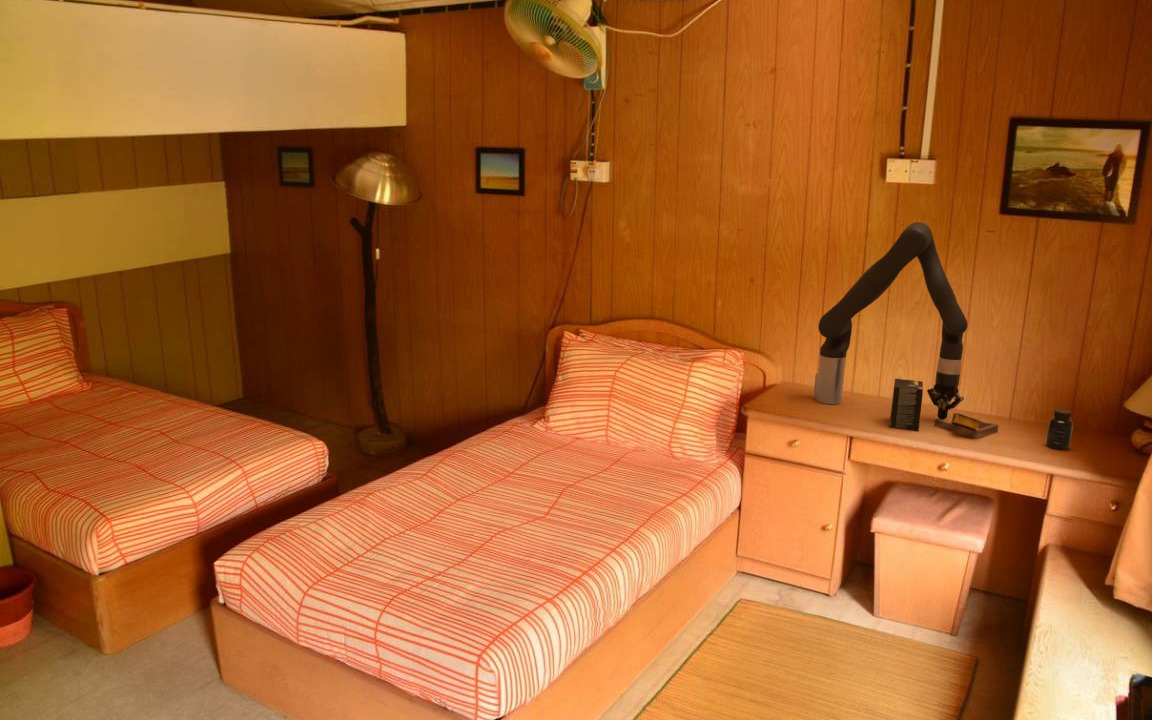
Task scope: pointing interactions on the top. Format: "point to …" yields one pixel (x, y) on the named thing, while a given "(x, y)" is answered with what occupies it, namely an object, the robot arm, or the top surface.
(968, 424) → the crayon box
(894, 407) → the tampon box
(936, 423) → the bay
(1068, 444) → the supplement bottle
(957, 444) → the top surface
